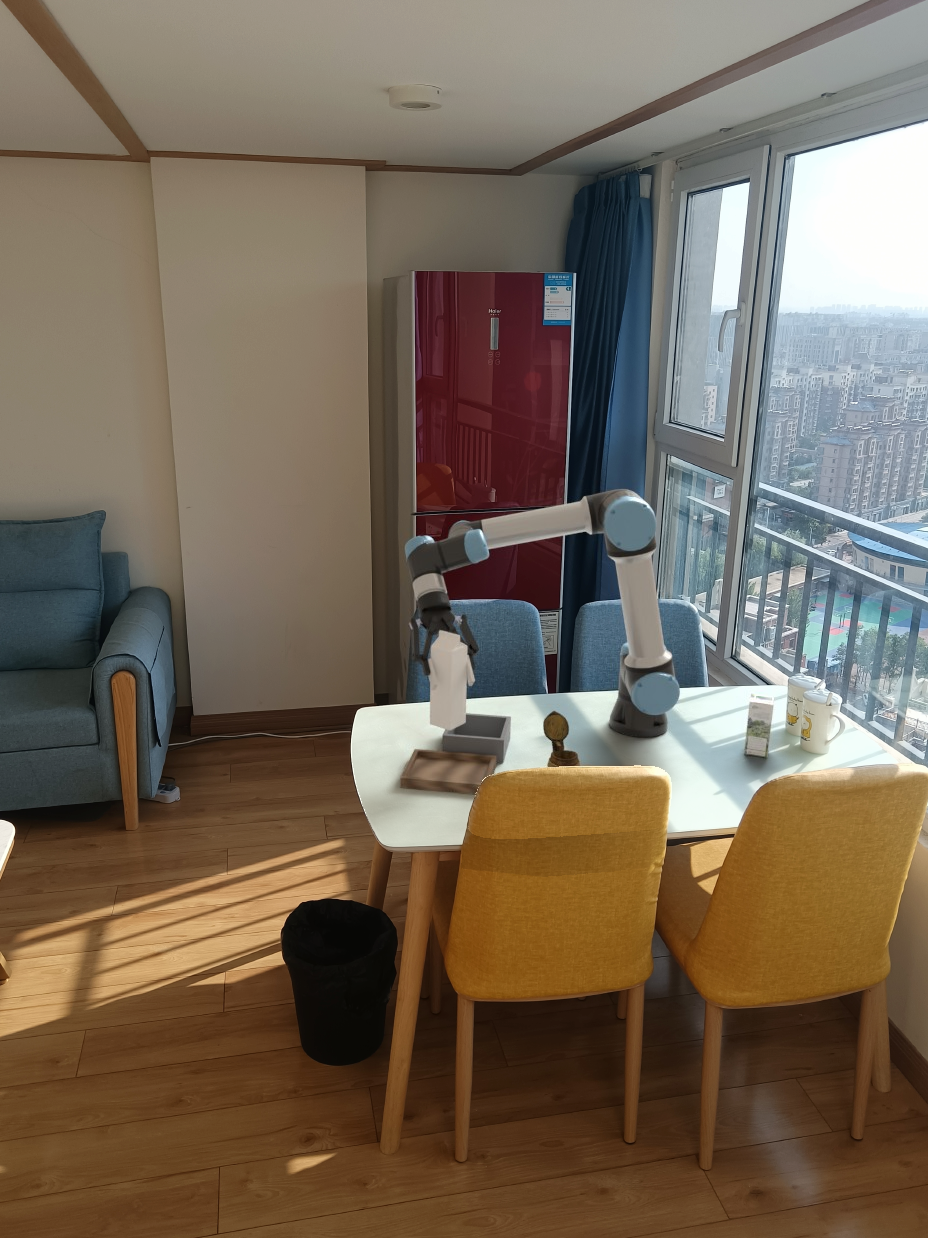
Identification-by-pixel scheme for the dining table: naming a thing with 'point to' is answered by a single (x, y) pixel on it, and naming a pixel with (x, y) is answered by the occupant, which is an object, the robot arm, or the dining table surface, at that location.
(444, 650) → the milk
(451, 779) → the tray
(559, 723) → the wooden mug
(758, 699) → the white drink carton
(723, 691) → the dining table surface
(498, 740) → the box
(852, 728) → the dining table surface
